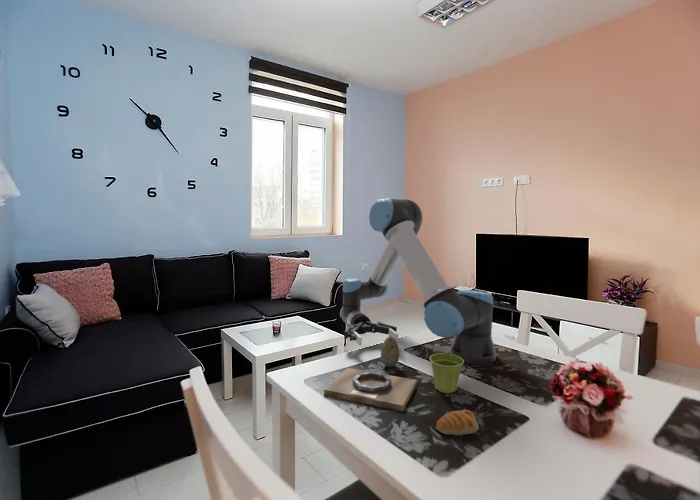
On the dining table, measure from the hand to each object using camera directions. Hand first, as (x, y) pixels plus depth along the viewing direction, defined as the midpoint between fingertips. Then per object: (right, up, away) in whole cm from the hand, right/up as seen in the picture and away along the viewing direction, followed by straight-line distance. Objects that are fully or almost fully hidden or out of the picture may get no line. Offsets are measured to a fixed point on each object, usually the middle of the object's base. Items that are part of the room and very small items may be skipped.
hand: (379, 339), depth 133 cm
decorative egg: (+3, -7, -8) cm, 11 cm away
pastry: (+15, -11, -43) cm, 47 cm away
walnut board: (-4, -8, -25) cm, 26 cm away
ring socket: (-4, -7, -25) cm, 26 cm away
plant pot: (+17, -9, -24) cm, 30 cm away
